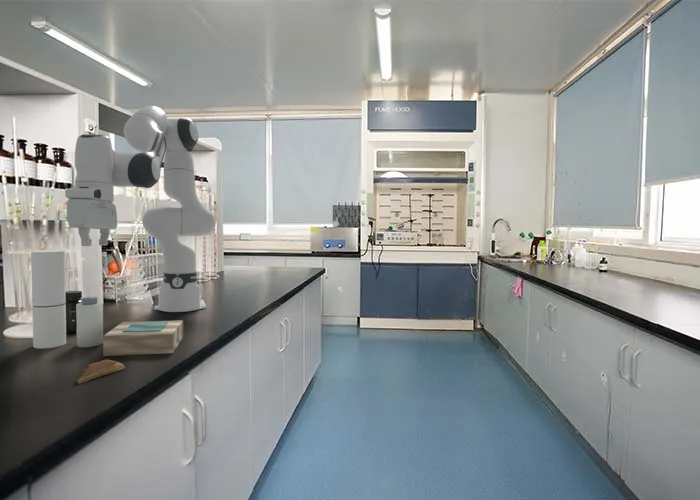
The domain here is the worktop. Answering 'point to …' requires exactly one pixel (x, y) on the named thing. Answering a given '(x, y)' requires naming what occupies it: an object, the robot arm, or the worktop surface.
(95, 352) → the worktop surface
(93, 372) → the shard
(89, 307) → the white bottle
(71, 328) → the supplement bottle
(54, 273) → the cylindrical container
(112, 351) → the birch plinth
